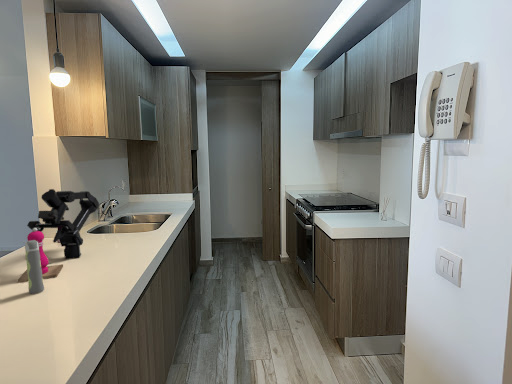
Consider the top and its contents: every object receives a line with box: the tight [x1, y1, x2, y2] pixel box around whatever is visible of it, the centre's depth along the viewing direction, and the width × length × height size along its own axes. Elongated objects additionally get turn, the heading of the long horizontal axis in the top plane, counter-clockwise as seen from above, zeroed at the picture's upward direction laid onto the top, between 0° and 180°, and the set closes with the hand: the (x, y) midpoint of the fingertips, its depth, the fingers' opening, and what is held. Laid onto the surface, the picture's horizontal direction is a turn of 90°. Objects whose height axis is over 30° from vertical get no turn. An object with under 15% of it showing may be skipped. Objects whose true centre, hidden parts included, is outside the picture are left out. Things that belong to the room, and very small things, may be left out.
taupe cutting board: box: [17, 264, 64, 283], centre depth 143 cm, size 14×14×1 cm
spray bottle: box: [24, 240, 45, 295], centre depth 124 cm, size 5×5×20 cm
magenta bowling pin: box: [26, 228, 49, 274], centre depth 140 cm, size 7×7×20 cm
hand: (43, 242), depth 145 cm, fingers open, 9 cm apart
